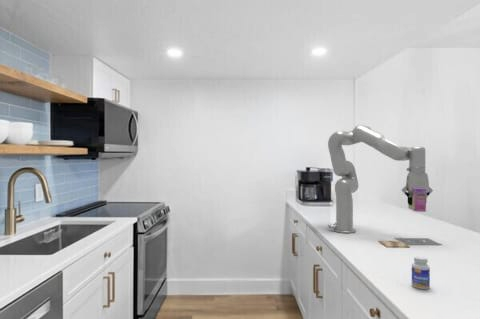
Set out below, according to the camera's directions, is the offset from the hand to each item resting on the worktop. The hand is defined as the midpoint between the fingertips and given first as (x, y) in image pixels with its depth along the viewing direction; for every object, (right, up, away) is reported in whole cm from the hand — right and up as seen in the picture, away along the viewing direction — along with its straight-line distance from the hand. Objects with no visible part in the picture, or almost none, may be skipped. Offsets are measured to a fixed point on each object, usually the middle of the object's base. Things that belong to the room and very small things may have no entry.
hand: (416, 204), depth 178 cm
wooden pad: (-15, -19, -7) cm, 25 cm away
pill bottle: (-31, -19, -63) cm, 73 cm away
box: (0, -3, 0) cm, 3 cm away
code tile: (0, -19, 0) cm, 19 cm away
